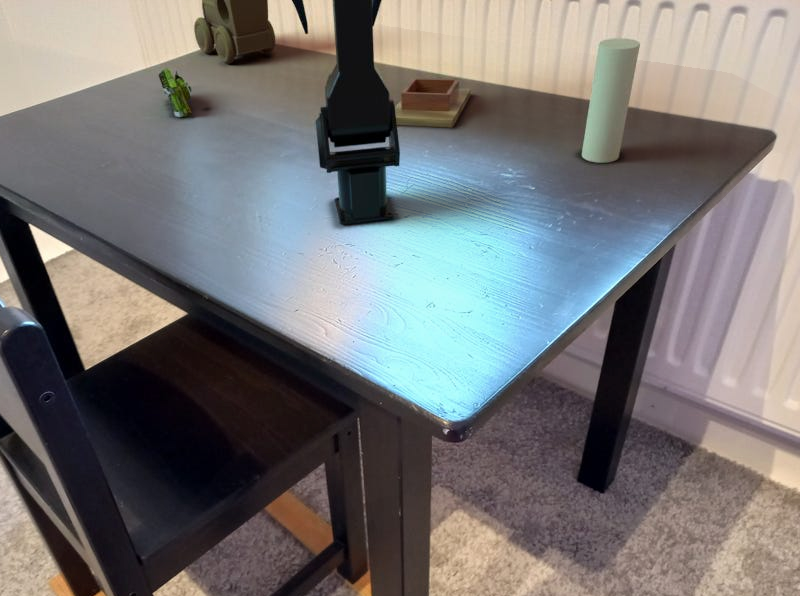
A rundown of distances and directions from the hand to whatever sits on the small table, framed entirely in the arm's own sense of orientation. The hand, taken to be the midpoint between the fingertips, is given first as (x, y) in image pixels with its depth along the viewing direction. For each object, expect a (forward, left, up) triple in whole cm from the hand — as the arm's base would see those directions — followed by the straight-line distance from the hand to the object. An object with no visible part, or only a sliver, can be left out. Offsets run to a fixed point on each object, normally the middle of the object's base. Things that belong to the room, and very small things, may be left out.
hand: (339, 29), depth 99 cm
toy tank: (+23, +26, -15) cm, 37 cm away
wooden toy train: (+49, +17, -15) cm, 54 cm away
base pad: (+5, -14, -14) cm, 21 cm away
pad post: (-19, -32, -14) cm, 40 cm away
